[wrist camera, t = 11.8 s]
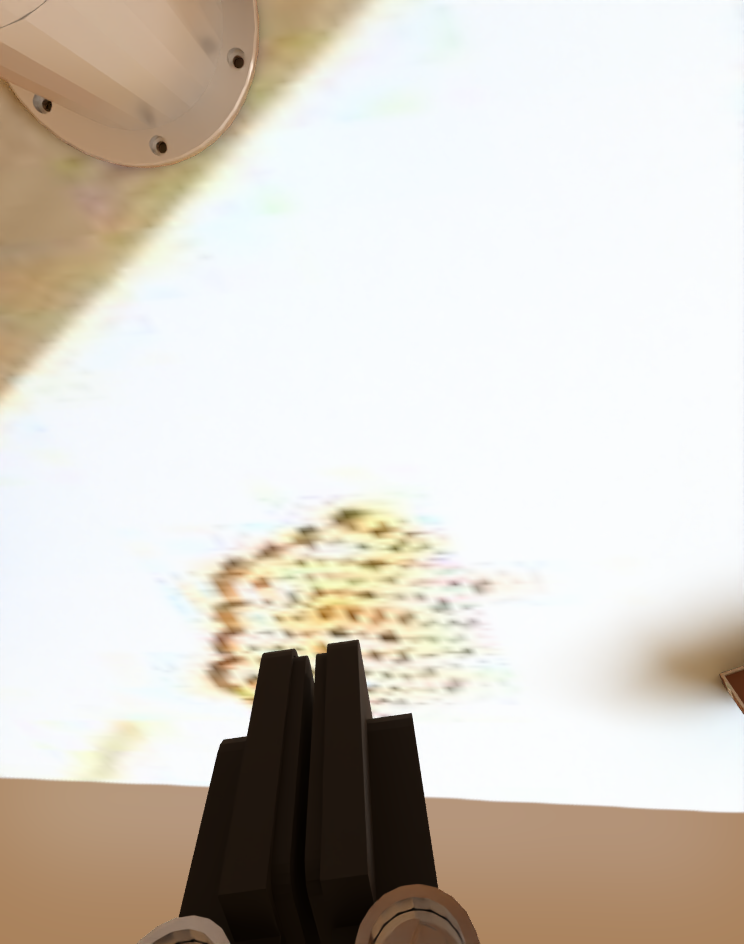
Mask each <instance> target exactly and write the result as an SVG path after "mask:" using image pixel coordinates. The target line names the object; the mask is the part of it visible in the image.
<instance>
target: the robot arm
mask: <svg viewBox="0 0 744 944" xmlns="http://www.w3.org/2000/svg"><path fill="white" fill-rule="evenodd" d="M258 51H259V14H258V7H257V0H0V78H1V79H4V80H6V81H7V83H8V84H9V86H10V87H11V89H12V90H13V92H14V94H15V95H16V97H17V98H18V99H19V100H20V102H21V103H22V104H23V105H24V106H25V107H26V108H27V109H28V111H29V112H30V113H31V114H32V115H33V116H34V117H35V118H36V119H37V121H38V122H40V123H41V124H42V125H43V126H44V127H46V128H47V129H48V130H49V131H51V132H52V133H53V134H54V135H55V136H57V137H58V138H59V139H60V140H62V141H64V142H65V143H67V144H69V145H71V146H72V147H74V148H76V149H78V150H79V151H81V152H83V153H84V154H87V155H90V156H92V157H95V158H98V159H100V160H103V161H107V162H109V163H113V164H118V165H122V166H126V167H141V168H154V167H160V166H166V165H172V164H176V163H178V162H181V161H183V160H186V159H188V158H191V157H193V156H196V155H197V154H199V153H200V152H201V151H203V150H204V149H206V148H207V147H209V146H210V145H211V144H213V143H214V142H215V141H216V140H217V139H218V138H219V137H220V136H221V135H222V134H223V133H224V132H225V131H226V130H227V128H228V127H229V126H230V125H231V124H232V122H233V121H234V119H235V117H236V116H237V114H238V113H239V111H240V109H241V108H242V106H243V104H244V103H245V100H246V97H247V94H248V92H249V89H250V86H251V84H252V81H253V78H254V74H255V68H256V62H257V57H258ZM237 58H242V59H243V60H244V65H243V67H242V68H240V69H239V68H236V67H235V66H234V62H235V60H236V59H237ZM49 101H51V102H52V108H51V111H50V112H48V110H47V108H46V104H47V102H49ZM162 142H164V143H166V145H167V151H166V152H165V153H161V152H160V151H159V145H160V143H162ZM137 944H480V942H479V939H478V936H477V933H476V930H475V928H474V926H473V924H472V922H471V920H470V918H469V916H468V914H467V912H466V911H465V910H464V909H463V908H462V906H461V905H460V904H459V903H458V902H457V901H456V900H455V899H454V898H453V897H452V896H450V895H448V894H447V893H445V892H443V891H442V890H440V889H438V884H437V877H436V871H435V865H434V857H433V851H432V845H431V837H430V831H429V824H428V818H427V811H426V804H425V798H424V791H423V784H422V778H421V771H420V764H419V758H418V751H417V744H416V738H415V731H414V725H413V718H412V713H409V714H402V715H395V716H388V717H381V718H374V719H373V718H372V712H371V707H370V701H369V695H368V689H367V683H366V678H365V672H364V666H363V660H362V655H361V649H360V644H359V640H352V641H345V642H338V643H331V644H328V645H327V653H322V654H317V655H316V665H315V683H314V679H313V674H312V670H311V665H310V661H309V658H308V656H300V657H298V655H297V652H296V650H295V649H289V650H282V651H275V652H267V653H264V654H263V655H262V658H261V663H260V669H259V674H258V679H257V685H256V690H255V696H254V701H253V706H252V712H251V717H250V723H249V728H248V733H247V736H246V737H239V738H232V739H225V740H223V741H222V743H221V744H220V747H219V750H218V753H217V757H216V762H215V766H214V770H213V774H212V779H211V783H210V787H209V791H208V795H207V800H206V804H205V809H204V813H203V817H202V821H201V825H200V830H199V834H198V838H197V842H196V847H195V851H194V855H193V859H192V863H191V868H190V872H189V876H188V881H187V885H186V889H185V893H184V897H183V901H182V906H181V910H180V914H179V918H175V919H173V920H170V921H168V922H166V923H164V924H162V925H160V926H157V927H156V928H155V929H154V930H152V931H151V932H150V933H149V934H147V935H146V936H145V937H144V938H142V939H141V940H140V941H139V942H138V943H137Z"/></svg>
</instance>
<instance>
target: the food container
mask: <svg viewBox="0 0 744 944" xmlns="http://www.w3.org/2000/svg"><path fill="white" fill-rule="evenodd" d="M720 677H721V680H722V682H723V685H724V686H725V688H726V689H727V690H728V692H729V693H730V695H731V696H732V698H733V699H734V701H735V702H736V704H737V705H738V707H739V708H740V710H741V711H742V713H743V714H744V666H741V667H738V668H735V669H732V670H729V671H726V672H723V673H720Z"/></svg>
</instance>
